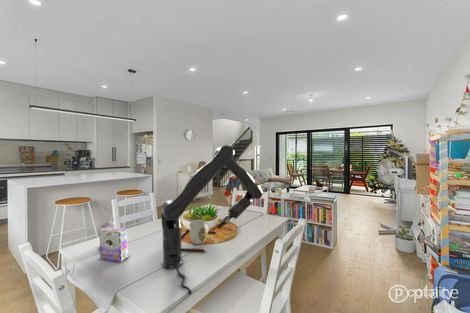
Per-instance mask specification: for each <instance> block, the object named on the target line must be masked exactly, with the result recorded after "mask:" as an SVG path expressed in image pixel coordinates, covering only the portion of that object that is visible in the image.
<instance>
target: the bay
mask: <svg viewBox="0 0 470 313" xmlns="http://www.w3.org/2000/svg"><path fill="white" fill-rule="evenodd" d="M189 230H190V228H186V229H185V230H184V231H182V232H181V239H182V238H183V237H184V236H185V235H186V234H187V233H189ZM216 233H217V231H216V230H209V232H208V233H207V234H214V235H215V234H216ZM181 252H191V253H205V252H206V249H205V248H195V247H181Z"/></svg>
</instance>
